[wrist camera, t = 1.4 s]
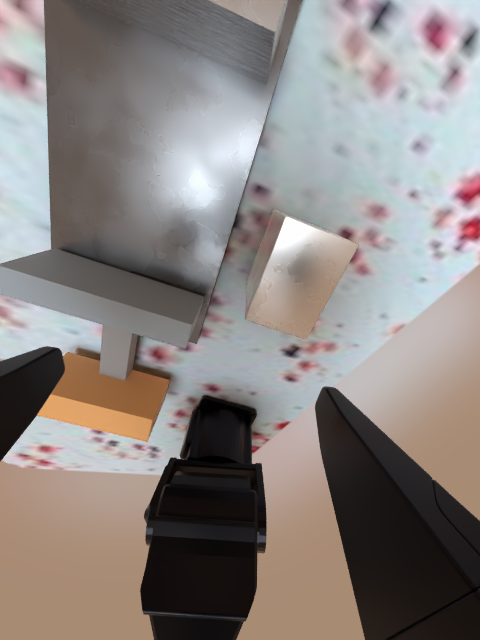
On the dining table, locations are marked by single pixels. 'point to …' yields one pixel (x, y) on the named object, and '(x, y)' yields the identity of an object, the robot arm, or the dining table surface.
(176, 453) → the dining table surface
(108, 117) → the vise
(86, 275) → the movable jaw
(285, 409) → the dining table surface
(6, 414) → the robot arm
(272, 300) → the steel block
